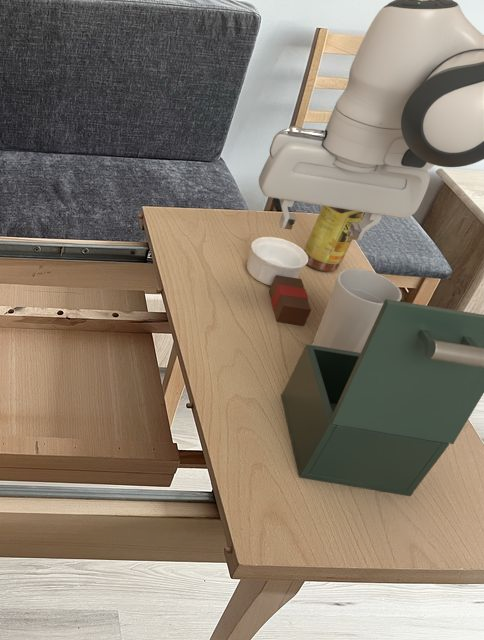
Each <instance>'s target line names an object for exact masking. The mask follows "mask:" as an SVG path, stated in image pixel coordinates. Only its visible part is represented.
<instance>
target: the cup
mask: <svg viewBox="0 0 484 640" xmlns="http://www.w3.org/2000/svg"><path fill="white" fill-rule="evenodd" d="M402 298H403V293H402V290H401V289H400V287H399V286H398V285H397V284H396V283H395V282H394V281H392V279H391V280H390V279H389V278H388V277H386V276H384V275H382V274H380V273H379V272H378V273H377V272H375V271H373V270H368V269H364V268H355V267H354V268H346V269H343V270H341V271H340V272H339V273H338V274H337V276H336V279H335V282H334V285H333V288H332V290H331V293H330V297H329V300H328V302H327V304H326V307H325V310H324V313H323V315H322V317H321V321H320V323H319V326H318V329H317V331H316V333H315V336H314V339H313V341H312V343H311V345H312V346H313V345H315V346H321V347H327V348H333V349H340V350H346V351H352V352H358V353H361V351H362V349H363V347H364V345H365V343H366V340H367V338H368V336H369V334H370V332H371V330H372V327H373V325H374V323H375V321H376V319H377V317H378V314H379V312H380V310H381V308H382V306H383V303H384V301H385V299H388V300H394V301H400V302H401V300H402Z"/></svg>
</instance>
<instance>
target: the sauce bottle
mask: <svg viewBox="0 0 484 640" xmlns="http://www.w3.org/2000/svg"><path fill="white" fill-rule="evenodd" d="M366 214H367V213H366V212H360V211H354V210H347V209H341V208H335V207H328V206H322V207H321V209H320V211H319V213H318V216H317V218H316V221H315V223H314V225H313V228H312V230H311V232H310V234H309V235H308V236H309V237H308V238H307V240H306V244H305V246H304V249H303V250H304V251H305V252H306V254H307V256H308V263H307V264H306V265H307V266H308V267H310V268H312V269H314V270H317V271H321V272H333V271H336V270H337V269H339V266H340V264H341V263H342V262H343V260H344V258H345V256H346V254H347V252H348V250H349V248H350V245H351V244H352V242H353V240H352V239H349V238H348V236H347V232H348V230H349V229H350V225H351V223H359V222H360V221H361V220H362V219H363V218H365V216H366Z"/></svg>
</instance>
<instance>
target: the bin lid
mask: <svg viewBox="0 0 484 640" xmlns="http://www.w3.org/2000/svg"><path fill="white" fill-rule="evenodd" d="M483 395H484V314H482V313H476V312H469V311H464V310H456V309H450V308H444V307H437V306H433V305H432V306H431V305H425V304H418V303H412V302H408V301H407V302H406V301H401V300H400V301H394V300H388V299H385V301H384V303H383V306H382V308H381V310H380V312H379V314H378V317H377V319H376V321H375V323H374V325H373V327H372V330H371V332H370V334H369V336H368V338H367V340H366V343H365V345H364V347H363V349H362V351H361V354H360V356H359V358H358V360H357V362H356V364H355V367H354V369H353V371H352V373H351V375H350V377H349V380H348V382H347V384H346V386H345V388H344V391H343V393H342V395H341V397H340V399H339V401H338V404H337V406H336V408H335V410H334V412H333V414H332V417H331V419H330V420H331V423H332V424H336V425H342V426H348V427H354V428H360V429H366V430H372V431H378V432H384V433H390V434H396V435H402V436H408V437H414V438H420V439H426V440H432V441H438V442H444V443H449V445H454V444H455V442H456V440H457V438H458V437H459V435H460V433H461V432H462V430H463V429H464V427H465V425H466V424H467V422H468V421H469V418H470V417H471V415H472V414H473V412H474V410H475V408H476V407H477V405H478V403H479V402H480V401H481V398H482V397H483Z"/></svg>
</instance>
